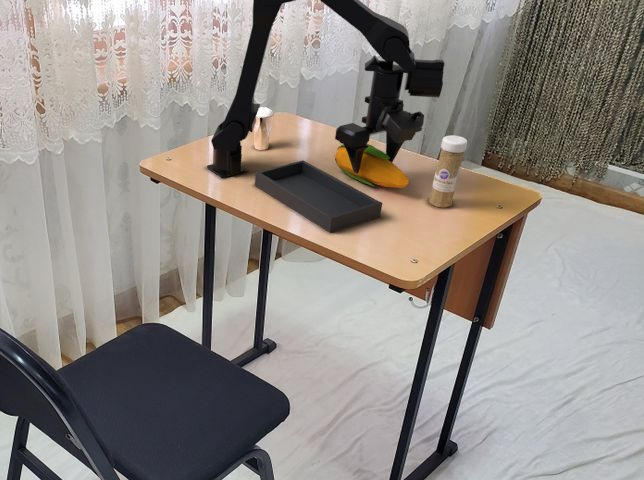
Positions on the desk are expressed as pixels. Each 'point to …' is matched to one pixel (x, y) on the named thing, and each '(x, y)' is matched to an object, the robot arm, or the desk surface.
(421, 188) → the desk surface
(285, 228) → the desk surface
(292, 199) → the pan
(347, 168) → the corn
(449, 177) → the sprinkles bottle
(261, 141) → the milkshake
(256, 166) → the desk surface
